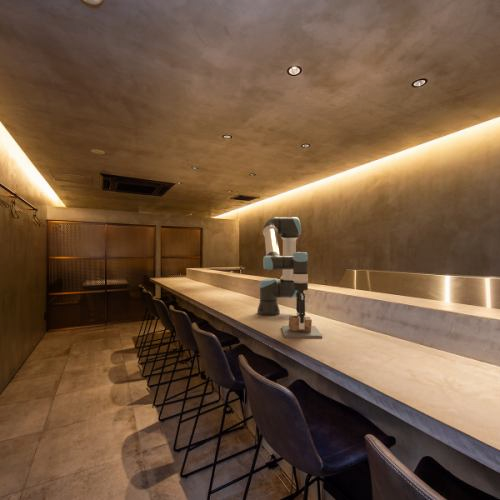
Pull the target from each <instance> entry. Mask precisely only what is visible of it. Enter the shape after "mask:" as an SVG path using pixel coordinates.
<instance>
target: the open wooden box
mask: <svg viewBox="0 0 500 500" xmlns="http://www.w3.org/2000/svg"><path fill="white" fill-rule="evenodd" d="M288 317H289V318H288V326H289V329H290V330H293V331H305V332H311V326H312V323H313V320H312V318H311V317H310V316H305V329H299V318H298V317H299V316H297V315H292V314H291V315H289V316H288Z"/></svg>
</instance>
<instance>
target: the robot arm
mask: <svg viewBox="0 0 500 500" xmlns="http://www.w3.org/2000/svg"><path fill="white" fill-rule="evenodd" d="M262 234H263V236H264V243H265V255H264V256H263V257H262V258H263V260H262V261H263V262H262V263H263V269H264V270H270V271H272V270H273V271H274V270H282V275H281V276H280V278H279V279H277V278H276V277H275V278H274V277H273V278H270V277H269V278H264V279H262V280H260V282H259V303H258V306H257V311H256V312H257V313H256V314H257V315H259V316H265V317H267V316H277V315H280V312H281V309H280V306H279V303H278V299H279V298H280V299H281V298H284V299H293V298H295V299H296V301H295V302H296V304H295V305H296V308H295V310H296V316H299V329H305V317H306V301H305V300H306V294H305V293H304V291H308V290H309V283H308V282H309V273H308V271H309V269H308V267H309V263H308V262H309V261H308V260H309V258H308V257H309V256H308V255H309V254H308V252H306V251H305V252H304V251H297V247H296V246H297V239H299V236H301V234H302V226H301V222H300V219H299V218H298V217H297V216H274V217H271V218H270V219H268V220H267V221H266V222H265V223H264V225H263V228H262ZM278 236H280V238H281V239H282V255H281V253H280V248H279V247H280V246H279V240H278Z"/></svg>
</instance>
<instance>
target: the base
mask: <svg viewBox="0 0 500 500" xmlns="http://www.w3.org/2000/svg"><path fill="white" fill-rule="evenodd" d="M298 318H299V317H298ZM281 331H282V334H283V338H284V339H323V335H322V334H321V332H320V331H319V330H318V328H317V327H316V325H311V332H305V331H293V330H290V329H289V325H281Z"/></svg>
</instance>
